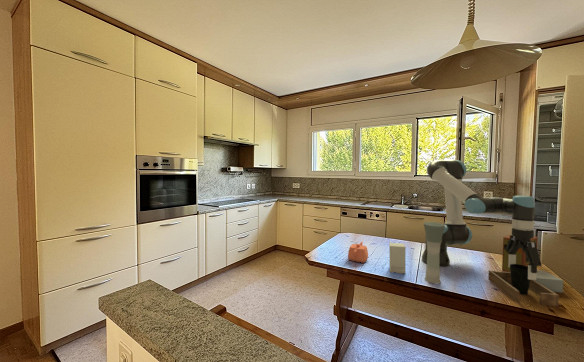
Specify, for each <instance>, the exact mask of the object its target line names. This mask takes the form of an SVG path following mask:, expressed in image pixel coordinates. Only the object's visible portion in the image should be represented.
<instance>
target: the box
mask: <svg viewBox="0 0 584 362" xmlns="http://www.w3.org/2000/svg"><path fill="white" fill-rule="evenodd" d="M502 238H503V241H502V242H503V243H502V261H501V262H502V263H501V271H503V272H510V268H509V267H508V262H509V254H508V252H506V251H505V249H506V247H507V245H508V242H509V240H510V235H506V236H503V237H502ZM538 239H539V237H538V236H534V238H532V239H530V241H531V243H536V246H537V247H538ZM514 255H516V264H519V265H524V266H527V267H528V264H529V261H528V259H527V257H526V255H525V252H524V251H523V250H522V249H521V248H519V249H518V251H517V252H516V254H514Z"/></svg>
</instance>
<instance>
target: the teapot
mask: <svg viewBox="0 0 584 362" xmlns="http://www.w3.org/2000/svg"><path fill="white" fill-rule="evenodd" d="M347 258H348V260H349V261H352V262H355V261H356V263H360V262H361V263H362V264H363V263H366V262H367V260H368V258H369V252H368V247H367V246H366V245H363V241H360V243H353V244H351V245H350V246H349V248H348V251H347Z"/></svg>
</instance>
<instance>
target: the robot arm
mask: <svg viewBox="0 0 584 362" xmlns="http://www.w3.org/2000/svg"><path fill="white" fill-rule="evenodd" d="M426 172H427V176H429V178H430V179H431V180H433V182H436V183H438V184H440V185H441V186H443V188H444V200H445V203H444V204H445V214H446V221H445V222H444V223H443V224H444V225H445V228H444V232H443V235H442V242H441V245H440V253H439V267H440V266H441V267H442V268H443V267H444V268H445V267H449V266H450V264H451V260H450V258H449V254H448V246H463V245H467V244H469V243H470V242H471V241H472V238H473V232H472V230H471V228H470V227H468V225H467V223H466V222H465V221H464V216H463V206H462V203H463V204H464V208H465V211H466V212H468V213H469V214H475V215H476V214H477V215H478V214H480V215H482V214H507V215H511V227H512V228H511V235H509V236H510V240H509V242H508V245H507V247H506V249H505V251H506V252H508V254H509V262H508V267H509V268H510V264H516V255H514V254H516V252H517V251H518V249H519V248H521V249H522V250H523V251H524V252H525V255H526V257H527V259H528V261H529V264H528V279H529V280H536V274H537V270H538V267H542V261H541V258H540V255H539V251H538V245H537V246H536V243H531V241H530V239H532V238H534V237H535V231H534V229H535V210H536V203H535V198H534V196H530V195H513V196H512V198H506V197H500V196H499V197H497V196H495V197H494V196H493V197H490V198H489V197H487V198H486V197H485V198H484V197H482V196H481V195H479V194H478V193H476V192H475V191H473V190H472V189H471V188H470V187H468V186H467V185H466V184H464V183H463V182H462V181H463V178H464V177H465V175H466V174H467V167H466V165H465V163H464V162H463V161H461V160H459V159H458V160H457V159H436V160H433V161H431V162H430V163H429V164H428V166H427V167H426ZM424 244H425V248H424V251H423V253H422V255H421V261H422V262H423V263H425V264H427V253H428V251H427V241H426V239H425V243H424Z"/></svg>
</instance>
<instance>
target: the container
mask: <svg viewBox="0 0 584 362" xmlns="http://www.w3.org/2000/svg"><path fill="white" fill-rule="evenodd" d="M423 226H424V227H423V228H424V233H425V240H426V241H427V251H428V253H427V263H426V269H425V278H424V280H425V281H426V282H427V281H428V282H427V283H430V282H431V283H430V284H433V283H439V284H441V283H442V282H441V276H440V275H441V274H440V273H441V272H440V269H441V268H440V266H439V253H440V245H441V242H442V235H443V232H444V228H445V225H444V223H440V222H435V221H426V222H425V221H424V222H423Z"/></svg>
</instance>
